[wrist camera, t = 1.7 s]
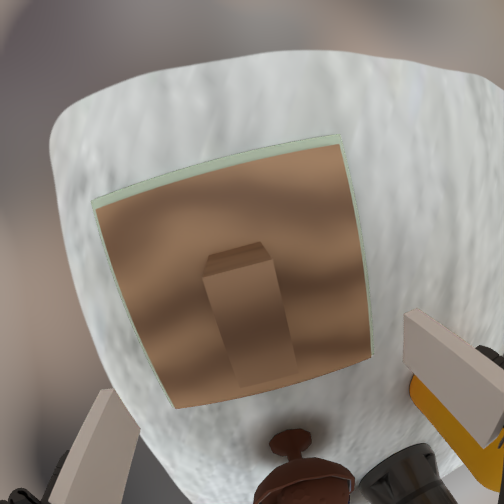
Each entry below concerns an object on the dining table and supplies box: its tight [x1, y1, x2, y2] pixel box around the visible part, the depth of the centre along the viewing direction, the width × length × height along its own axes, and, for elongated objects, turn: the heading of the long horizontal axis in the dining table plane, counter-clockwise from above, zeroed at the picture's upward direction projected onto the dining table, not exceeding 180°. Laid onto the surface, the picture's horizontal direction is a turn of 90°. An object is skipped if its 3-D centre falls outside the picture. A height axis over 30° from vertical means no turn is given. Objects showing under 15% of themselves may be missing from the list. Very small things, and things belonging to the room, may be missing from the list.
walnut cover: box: [95, 144, 371, 409], centre depth 20 cm, size 20×20×8 cm
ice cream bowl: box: [253, 429, 355, 504], centre depth 22 cm, size 11×11×15 cm
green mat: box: [91, 134, 374, 407], centre depth 24 cm, size 22×22×1 cm
